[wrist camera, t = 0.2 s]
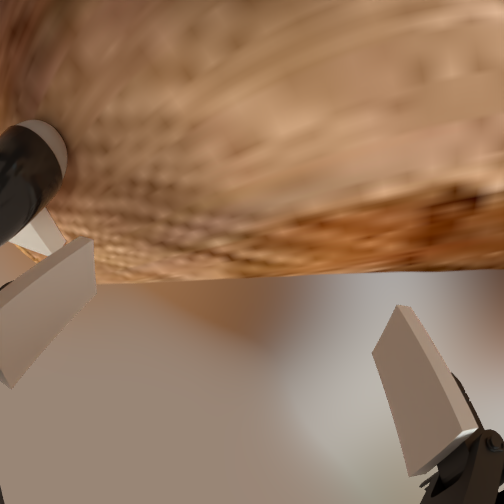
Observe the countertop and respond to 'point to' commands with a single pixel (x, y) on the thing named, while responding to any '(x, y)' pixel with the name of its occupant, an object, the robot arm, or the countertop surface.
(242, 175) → the countertop surface
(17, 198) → the dark brown rounded piece
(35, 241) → the riser
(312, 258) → the countertop surface
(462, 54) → the countertop surface
